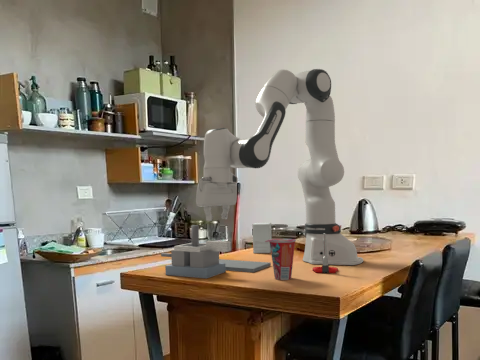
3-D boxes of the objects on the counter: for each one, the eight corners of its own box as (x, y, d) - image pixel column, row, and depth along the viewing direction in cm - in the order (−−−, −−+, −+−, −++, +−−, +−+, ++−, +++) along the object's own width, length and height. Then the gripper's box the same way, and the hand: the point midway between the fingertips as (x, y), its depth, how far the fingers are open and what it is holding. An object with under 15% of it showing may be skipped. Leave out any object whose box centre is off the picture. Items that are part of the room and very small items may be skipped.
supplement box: (272, 251, 210) (271, 222, 210) (269, 253, 202) (269, 223, 203) (256, 250, 211) (255, 222, 212) (252, 253, 204) (252, 223, 204)
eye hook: (174, 250, 157) (174, 241, 157) (191, 247, 166) (191, 238, 166) (221, 253, 148) (221, 243, 148) (236, 249, 157) (236, 240, 157)
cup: (280, 274, 154) (280, 237, 154) (302, 278, 148) (301, 239, 148) (261, 279, 147) (261, 240, 147) (283, 282, 141) (282, 242, 141)
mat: (270, 265, 171) (270, 262, 171) (253, 272, 159) (253, 268, 159) (218, 262, 182) (218, 259, 182) (198, 268, 169) (198, 264, 169)
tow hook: (312, 269, 165) (312, 273, 155) (312, 232, 165) (311, 233, 156) (337, 270, 163) (338, 273, 154) (336, 232, 164) (338, 233, 155)
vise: (225, 272, 160) (224, 224, 161) (206, 278, 150) (205, 227, 150) (172, 267, 171) (171, 223, 171) (151, 273, 160) (150, 226, 160)
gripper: (208, 176, 144) (208, 222, 144) (240, 177, 162) (240, 218, 162) (191, 177, 147) (191, 221, 147) (224, 178, 165) (224, 217, 165)
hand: (217, 219), depth 155 cm, fingers open, 8 cm apart
